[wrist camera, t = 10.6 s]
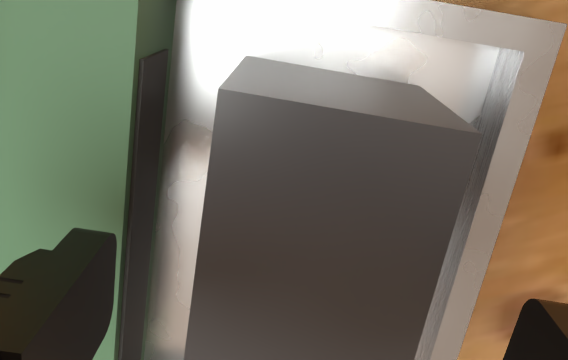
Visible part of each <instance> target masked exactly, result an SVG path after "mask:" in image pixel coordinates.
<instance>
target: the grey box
mask: <svg viewBox="0 0 568 360" xmlns="http://www.w3.org/2000/svg"><path fill="white" fill-rule="evenodd" d="M481 137H482V133H480V132H479V131H478V130H476V129H475V128H474V127H473V126H471V125H470V124H469V123H467V122H466V121H465V120H463V119H462V118H461V117H460V116H458V115H457V114H456V113H454V112H453V111H452V110H450V109H449V108H448V107H446V106H445V105H444V104H443V103H441V102H440V101H439V100H437V99H436V98H435V97H433V96H432V95H431V94H430V93H428V92H427V91H426V90H424V89H423V88H422V87H420V86H418V85H412V84H407V83H401V82H395V81H389V80H384V79H378V78H372V77H367V76H361V75H355V74H349V73H344V72H338V71H332V70H327V69H321V68H315V67H310V66H304V65H298V64H292V63H287V62H281V61H275V60H270V59H264V58H258V57H252V56H247V55H246V56H245V57H244V58H243V59H242V61H241V62H240V63H239V64H238V65H237V67H236V68H235V69H234V70H233V71H232V73H231V74H230V75H229V76H228V77H227V78H226V80H225V81H224V82H223V83H222V84H221V86H220V87H219V88H218V94H217V102H216V110H215V118H214V125H213V133H212V141H211V149H210V157H209V165H208V172H207V180H206V188H205V196H204V204H203V212H202V219H201V227H200V235H199V243H198V251H197V259H196V266H195V274H194V282H193V290H192V298H191V306H190V313H189V321H188V329H187V337H186V345H185V353H184V360H414V358H415V355H416V352H417V348H418V345H419V342H420V338H421V335H422V332H423V328H424V325H425V322H426V319H427V315H428V312H429V309H430V305H431V302H432V299H433V295H434V292H435V289H436V285H437V282H438V279H439V276H440V272H441V269H442V266H443V262H444V259H445V256H446V252H447V249H448V246H449V242H450V239H451V236H452V233H453V229H454V226H455V223H456V219H457V216H458V213H459V209H460V206H461V203H462V199H463V196H464V193H465V190H466V186H467V183H468V180H469V176H470V173H471V170H472V166H473V163H474V160H475V156H476V153H477V150H478V147H479V143H480V140H481Z"/></svg>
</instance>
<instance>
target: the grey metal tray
mask: <svg viewBox="0 0 568 360" xmlns="http://www.w3.org/2000/svg"><path fill="white" fill-rule="evenodd" d="M566 27H567V24H564V23H558V22H552V21H547V20H541V19H535V18H530V17H524V16H518V15H512V14H507V13H501V12H495V11H490V10H484V9H478V8H473V7H467V6H461V5H455V4H450V3H444V2H438V1H433V0H177V2H176V12H175V23H174V34H173V45H172V56H171V67H170V78H169V89H168V100H167V111H166V122H165V133H164V143H163V154H162V165H161V176H160V187H159V198H158V209H157V220H156V231H155V242H154V253H153V264H152V274H151V285H150V296H149V307H148V318H147V329H146V340H145V351H144V360H184V353H185V345H186V337H187V329H188V321H189V313H190V306H191V298H192V290H193V282H194V274H195V266H196V259H197V251H198V243H199V235H200V227H201V219H202V212H203V204H204V196H205V188H206V180H207V172H208V165H209V157H210V149H211V141H212V133H213V125H214V118H215V110H216V102H217V94H218V88H219V87H220V86H221V84H222V83H223V82H224V81H225V80H226V78H227V77H228V76H229V75H230V74H231V73H232V71H233V70H234V69H235V68H236V67H237V65H238V64H239V63H240V62H241V61H242V59H243V58H244V57H245V56H246V55H247V56H252V57H258V58H264V59H270V60H275V61H281V62H287V63H292V64H298V65H304V66H310V67H315V68H321V69H327V70H332V71H338V72H344V73H349V74H355V75H361V76H367V77H372V78H378V79H384V80H389V81H395V82H401V83H407V84H412V85H418V86H420V87H422V88H423V89H424V90H426V91H427V92H428V93H430V94H431V95H432V96H433V97H435V98H436V99H437V100H439V101H440V102H441V103H443V104H444V105H445V106H446V107H448V108H449V109H450V110H452V111H453V112H454V113H456V114H457V115H458V116H460V117H461V118H462V119H463V120H465V121H466V122H467V123H469V124H470V125H471V126H473V127H474V128H475V129H476V130H478V131H479V132H480V133H482V137H481V140H480V143H479V147H478V150H477V153H476V156H475V160H474V163H473V166H472V170H471V173H470V176H469V180H468V183H467V186H466V190H465V193H464V196H463V199H462V203H461V206H460V209H459V213H458V216H457V219H456V223H455V226H454V229H453V233H452V236H451V239H450V242H449V246H448V249H447V252H446V256H445V259H444V262H443V266H442V269H441V272H440V276H439V279H438V282H437V285H436V289H435V292H434V295H433V299H432V302H431V305H430V309H429V312H428V315H427V319H426V322H425V325H424V328H423V332H422V335H421V338H420V342H419V345H418V348H417V352H416V355H415V358H414V360H457V358H458V355H459V352H460V349H461V346H462V343H463V340H464V337H465V334H466V331H467V328H468V325H469V322H470V319H471V316H472V313H473V310H474V307H475V304H476V300H477V297H478V294H479V291H480V288H481V285H482V282H483V279H484V276H485V273H486V270H487V267H488V264H489V261H490V258H491V255H492V252H493V249H494V246H495V243H496V240H497V237H498V234H499V231H500V228H501V224H502V221H503V218H504V215H505V212H506V209H507V206H508V203H509V200H510V197H511V194H512V191H513V188H514V185H515V182H516V179H517V176H518V173H519V170H520V167H521V164H522V161H523V158H524V155H525V152H526V148H527V145H528V142H529V139H530V136H531V133H532V130H533V127H534V124H535V121H536V118H537V115H538V112H539V109H540V106H541V103H542V100H543V97H544V94H545V91H546V88H547V85H548V82H549V79H550V76H551V73H552V69H553V66H554V63H555V60H556V57H557V54H558V51H559V48H560V45H561V42H562V39H563V36H564V33H565V30H566Z"/></svg>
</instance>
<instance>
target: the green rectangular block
mask: <svg viewBox="0 0 568 360" xmlns="http://www.w3.org/2000/svg"><path fill="white" fill-rule="evenodd" d="M176 2H177V0H0V274H1V273H2V272H3V271H4V270H5V269H6V268H7V267H8V266H9V265H10V264H11V263H12V262H13V261H15V260H17V259H19V258H21V257H23V256H25V255H27V254H29V253H31V252H34V251H36V250H38V249H46V250H53V249H54V248H55V247H56V246H57V245H58V244H59V242H60V241H61V240H62V239H63V238H64V237H65V236H66V235H67V234H68V233H69V232H70V231H71V230H72V229H73V228H82V229H89V230H95V231H102V232H108V233H114V234H115V235H116V239H117V252H116V270H115V287H114V304H113V311H112V316H111V321H110V324H109V328H108V330H107V333H106V335H105V337H104V339H103V341H102V343H101V345H100V347H99V348H98V350H97V352H96V354H95V356H94V358H93V359H92V360H144V351H145V340H146V329H147V318H148V307H149V296H150V285H151V274H152V264H153V253H154V242H155V231H156V220H157V209H158V198H159V187H160V176H161V165H162V154H163V143H164V133H165V122H166V111H167V100H168V89H169V78H170V67H171V56H172V45H173V34H174V23H175V12H176Z"/></svg>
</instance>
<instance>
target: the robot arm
mask: <svg viewBox="0 0 568 360" xmlns="http://www.w3.org/2000/svg"><path fill="white" fill-rule="evenodd" d="M116 252H117V239H116V235H115V234H114V233H108V232H102V231H95V230H89V229H82V228H73V229H72V230H71V231H70V232H69V233H68V234H67V235H66V236H65V237H64V238H63V239H62V240H61V241H60V242H59V244H58V245H57V246H56V247H55V248H54V249H53V250H46V249H38V250H36V251H34V252H31V253H29V254H27V255H25V256H23V257H21V258H19V259H17V260H15V261H13V262H12V263H11V264H10V265H9V266H8V267H7V268H6V269H5V270H4V271H3V272H2V273H1V274H0V360H92V359H93V358H94V356H95V354H96V352H97V350H98V348H99V347H100V345H101V343H102V341H103V339H104V337H105V335H106V333H107V330H108V328H109V324H110V321H111V316H112V311H113V304H114V287H115V270H116ZM503 360H568V304H565V303H559V302H552V301H546V300H539V299H530V300H528V301H527V302H526V303H525V304H524V306H523V307H522V310H521V312H520V315H519V318H518V320H517V323H516V326H515V328H514V331H513V334H512V337H511V339H510V342H509V345H508V347H507V350H506V353H505V355H504V358H503Z"/></svg>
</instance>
